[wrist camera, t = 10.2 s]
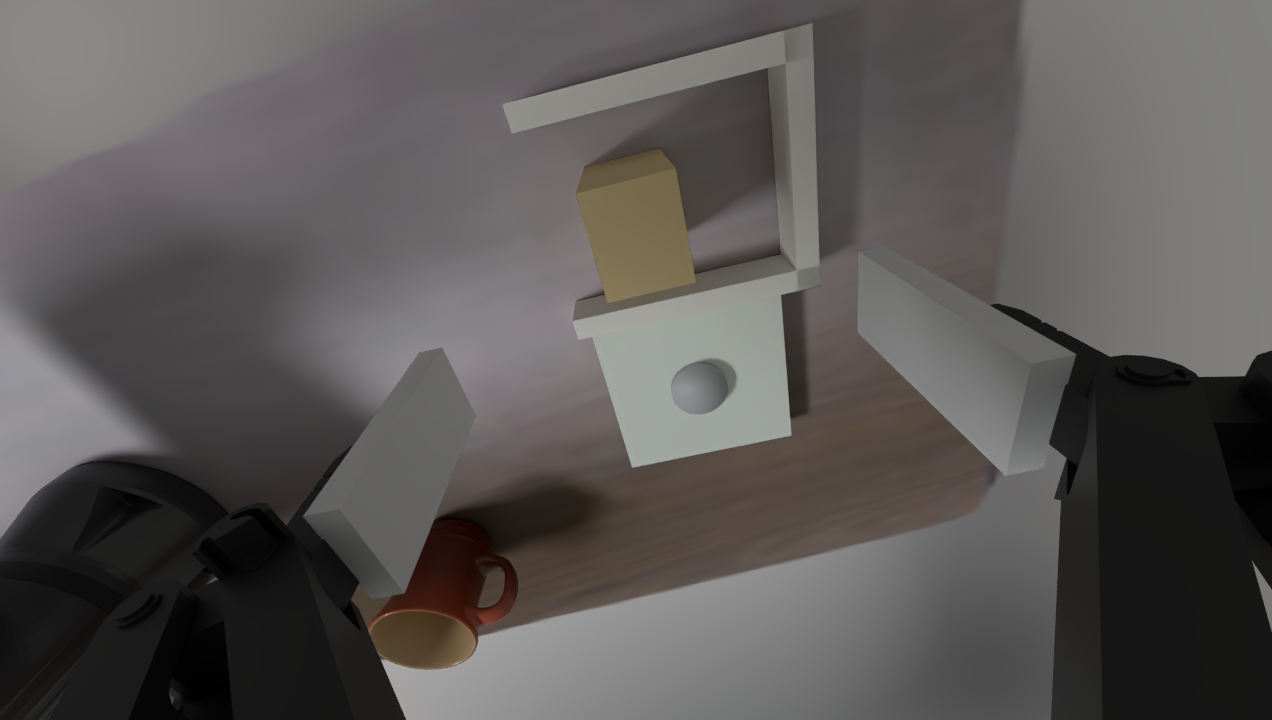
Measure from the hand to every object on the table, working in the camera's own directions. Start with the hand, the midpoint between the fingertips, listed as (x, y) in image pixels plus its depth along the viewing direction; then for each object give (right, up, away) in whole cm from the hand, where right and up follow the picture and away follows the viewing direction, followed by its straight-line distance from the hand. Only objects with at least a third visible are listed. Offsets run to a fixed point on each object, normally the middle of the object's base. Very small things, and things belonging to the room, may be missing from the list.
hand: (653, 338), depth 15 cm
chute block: (-1, +10, +17) cm, 20 cm away
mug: (-17, -18, +33) cm, 41 cm away
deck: (+3, +5, +21) cm, 21 cm away
